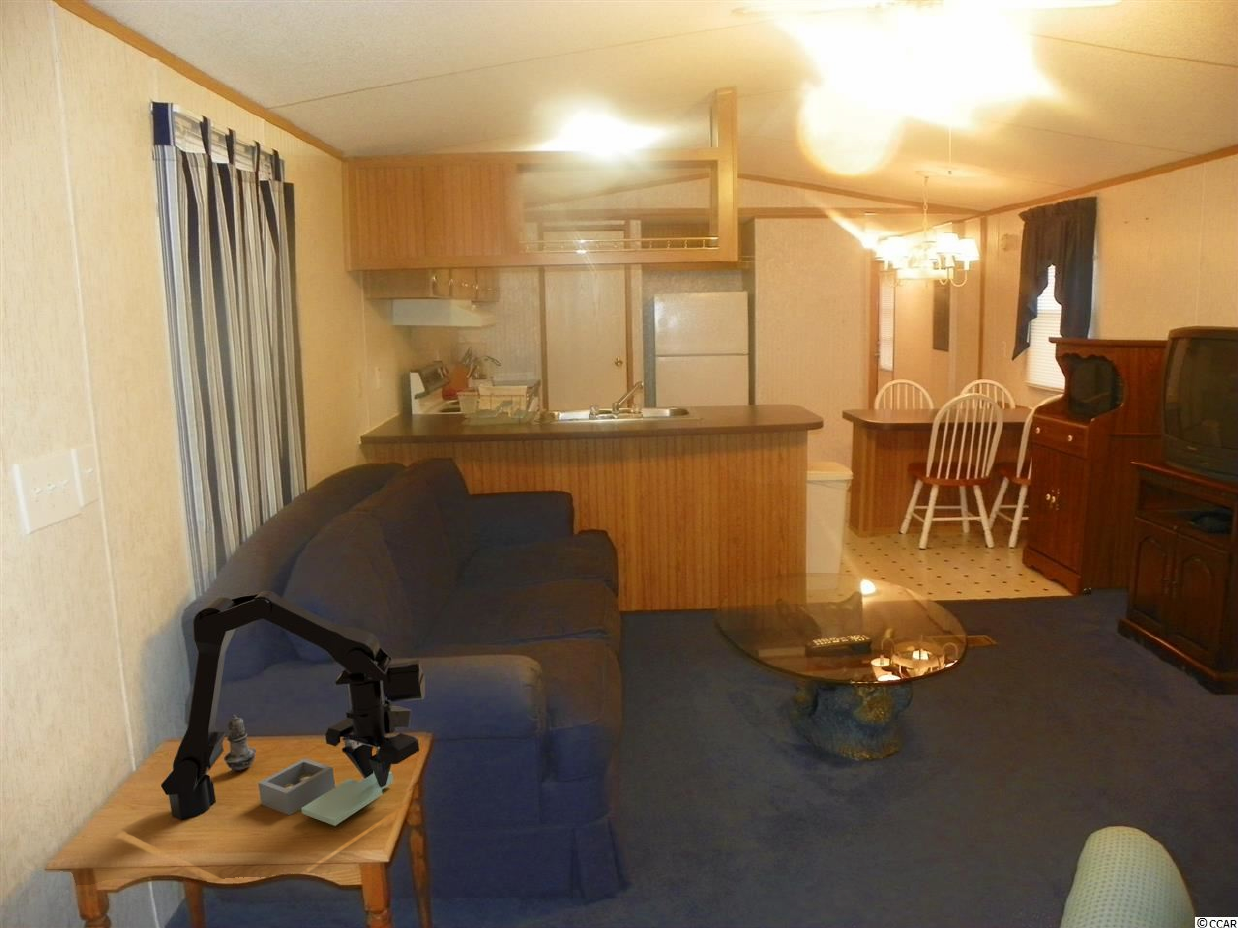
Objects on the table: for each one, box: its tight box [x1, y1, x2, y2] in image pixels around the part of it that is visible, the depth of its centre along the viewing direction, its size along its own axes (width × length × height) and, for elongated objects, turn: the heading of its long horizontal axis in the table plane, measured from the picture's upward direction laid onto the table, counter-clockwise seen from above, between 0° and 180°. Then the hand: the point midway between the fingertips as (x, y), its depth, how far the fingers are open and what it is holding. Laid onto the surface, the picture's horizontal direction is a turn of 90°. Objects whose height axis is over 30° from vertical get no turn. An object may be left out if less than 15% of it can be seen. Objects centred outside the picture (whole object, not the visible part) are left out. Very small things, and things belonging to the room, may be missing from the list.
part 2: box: [299, 774, 312, 782], centre depth 167 cm, size 2×2×3 cm
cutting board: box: [300, 771, 394, 827], centre depth 161 cm, size 16×9×2 cm, turn 147°
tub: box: [258, 758, 336, 816], centre depth 166 cm, size 10×8×5 cm
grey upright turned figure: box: [223, 714, 257, 776], centre depth 178 cm, size 6×6×12 cm
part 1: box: [282, 784, 294, 789], centre depth 164 cm, size 2×2×3 cm
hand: (376, 783), depth 166 cm, fingers open, 3 cm apart
